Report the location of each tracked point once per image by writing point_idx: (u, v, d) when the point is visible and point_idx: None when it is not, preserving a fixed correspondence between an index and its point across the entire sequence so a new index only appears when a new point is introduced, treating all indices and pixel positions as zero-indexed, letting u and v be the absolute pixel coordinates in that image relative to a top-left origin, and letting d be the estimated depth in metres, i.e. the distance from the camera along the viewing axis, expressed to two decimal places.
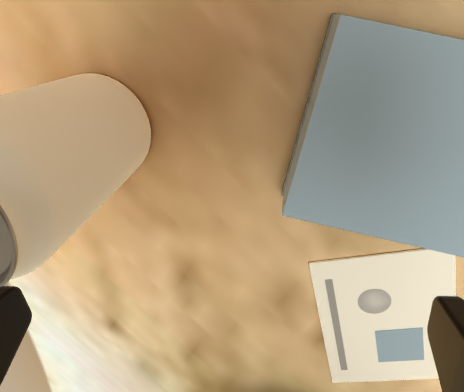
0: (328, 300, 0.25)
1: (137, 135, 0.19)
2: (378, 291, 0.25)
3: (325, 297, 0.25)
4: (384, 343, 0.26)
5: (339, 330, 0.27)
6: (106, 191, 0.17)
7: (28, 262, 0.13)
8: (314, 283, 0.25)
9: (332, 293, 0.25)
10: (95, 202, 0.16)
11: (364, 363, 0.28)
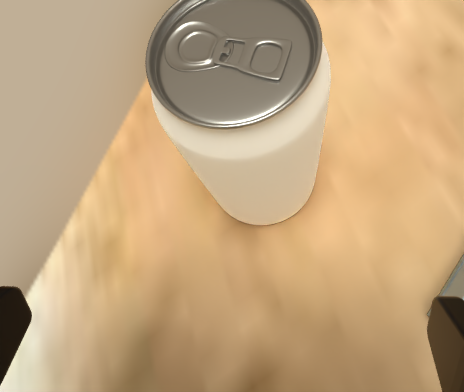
0: None
1: (315, 177, 0.19)
2: None
3: None
4: None
5: None
6: (302, 176, 0.16)
7: (278, 127, 0.11)
8: None
9: None
10: (302, 167, 0.15)
11: None
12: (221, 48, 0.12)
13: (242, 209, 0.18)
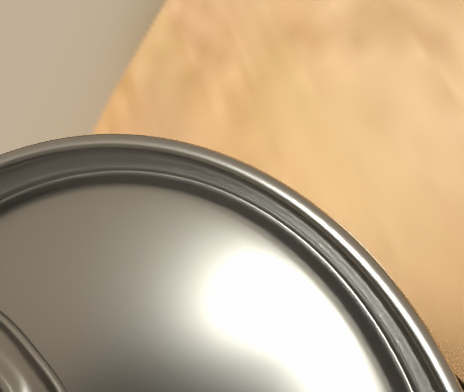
0: None
1: None
2: None
3: None
4: None
5: None
6: None
7: None
8: None
9: None
10: None
11: None
12: None
13: None
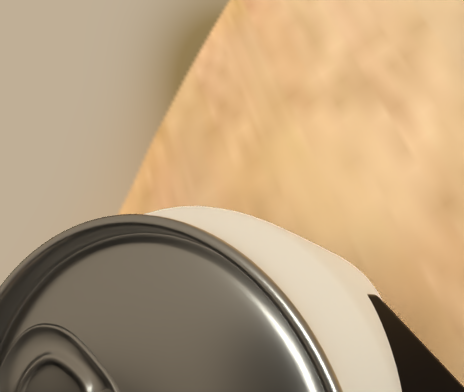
0: None
1: None
2: None
3: None
4: None
5: None
6: None
7: None
8: None
9: None
10: None
11: None
12: None
13: None
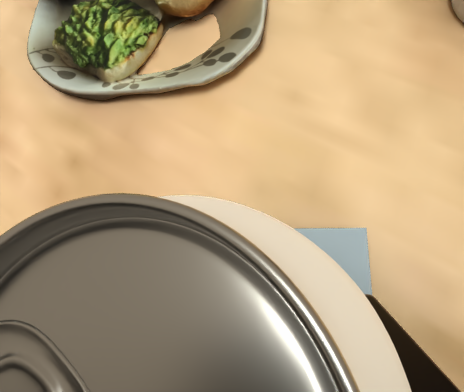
0: None
1: None
2: None
3: None
4: None
5: None
6: None
7: None
8: None
9: None
10: None
11: None
12: None
13: None
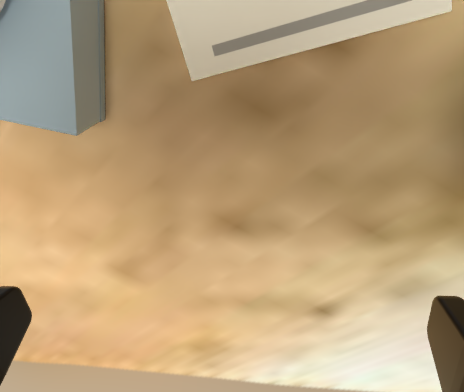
0: (251, 45, 0.17)
1: None
2: None
3: (246, 51, 0.17)
4: None
5: (312, 18, 0.16)
6: None
7: None
8: (223, 70, 0.18)
9: (237, 41, 0.17)
10: None
11: None
12: None
13: None
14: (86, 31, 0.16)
